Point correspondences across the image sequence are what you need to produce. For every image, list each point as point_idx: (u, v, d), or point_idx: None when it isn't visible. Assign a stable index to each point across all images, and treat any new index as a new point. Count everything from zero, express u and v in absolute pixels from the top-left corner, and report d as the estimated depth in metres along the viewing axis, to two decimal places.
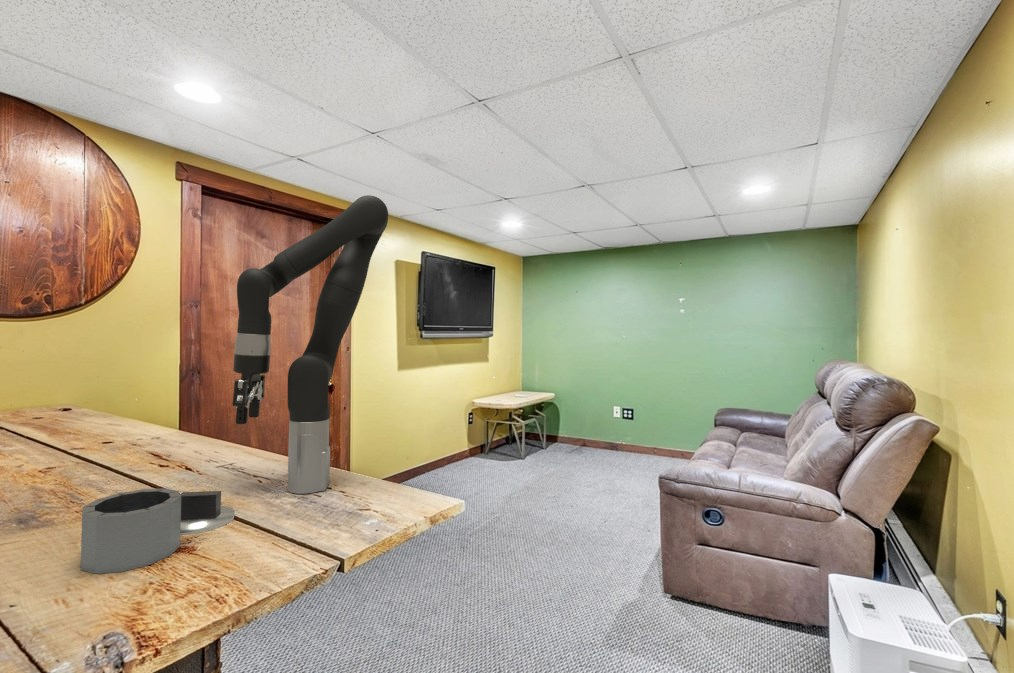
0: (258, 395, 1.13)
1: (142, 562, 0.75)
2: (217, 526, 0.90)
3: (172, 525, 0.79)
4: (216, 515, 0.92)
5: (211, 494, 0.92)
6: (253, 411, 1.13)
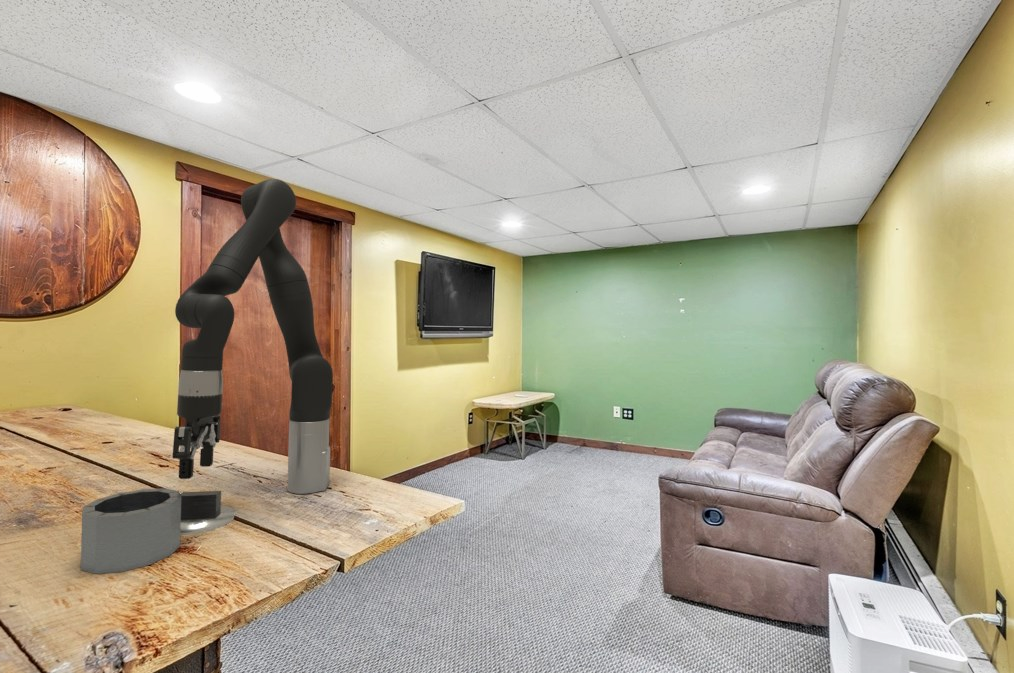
0: (210, 440, 0.96)
1: (142, 562, 0.75)
2: (217, 526, 0.90)
3: (172, 525, 0.79)
4: (216, 515, 0.92)
5: (211, 494, 0.92)
6: (205, 459, 0.96)
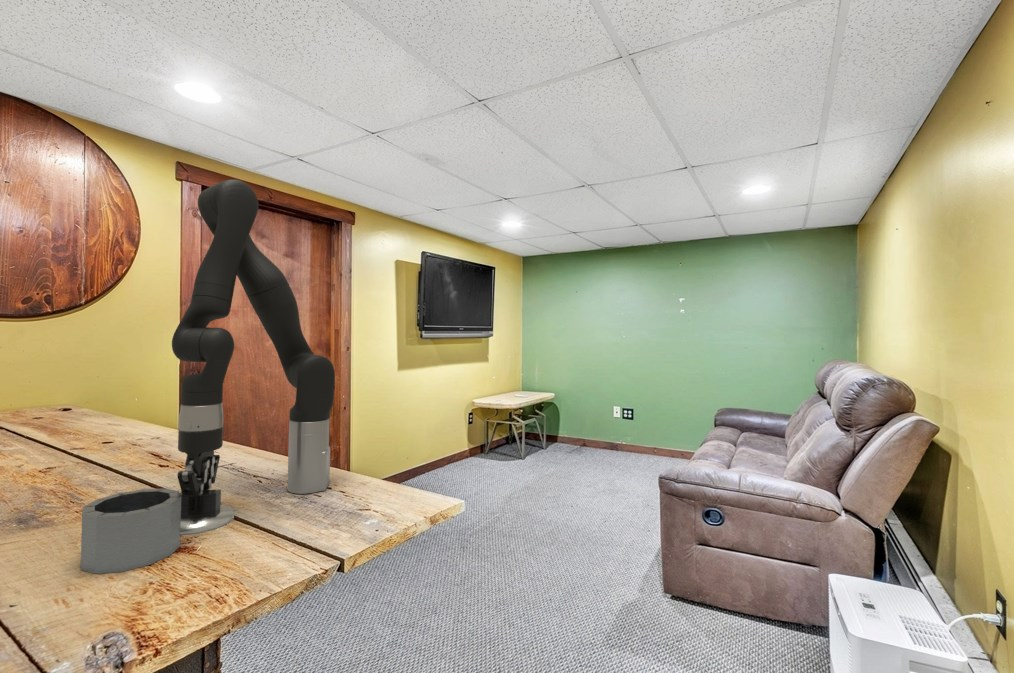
0: (207, 478, 0.94)
1: (142, 562, 0.75)
2: (217, 525, 0.90)
3: (172, 525, 0.79)
4: (216, 514, 0.92)
5: (211, 493, 0.92)
6: None
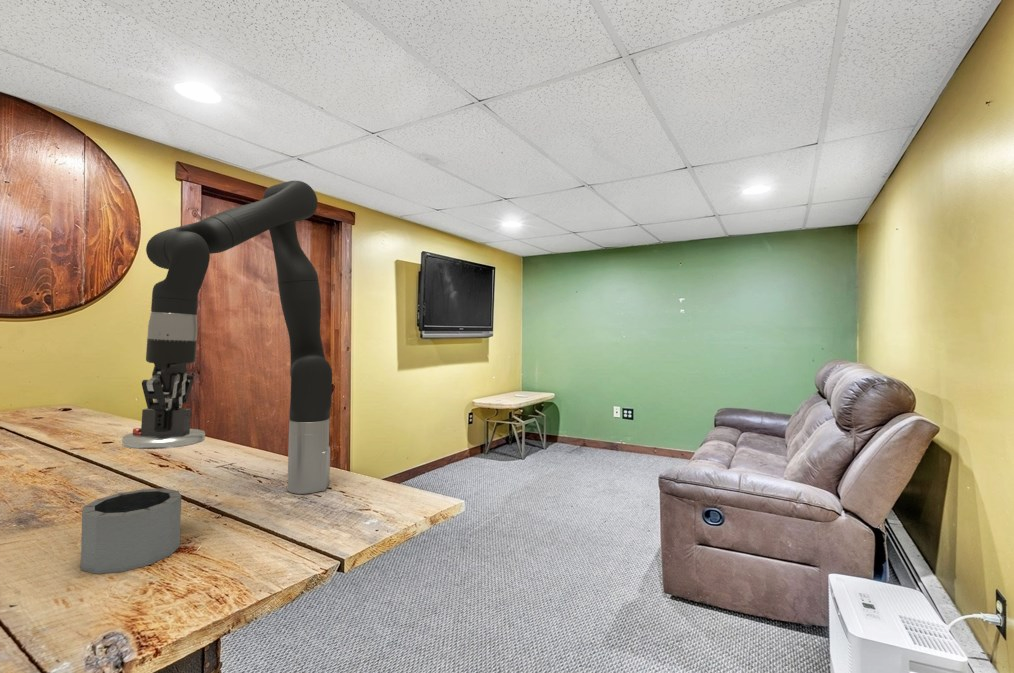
0: (178, 395, 0.87)
1: (142, 562, 0.75)
2: (183, 442, 0.83)
3: (172, 525, 0.79)
4: (184, 433, 0.85)
5: (179, 410, 0.85)
6: None
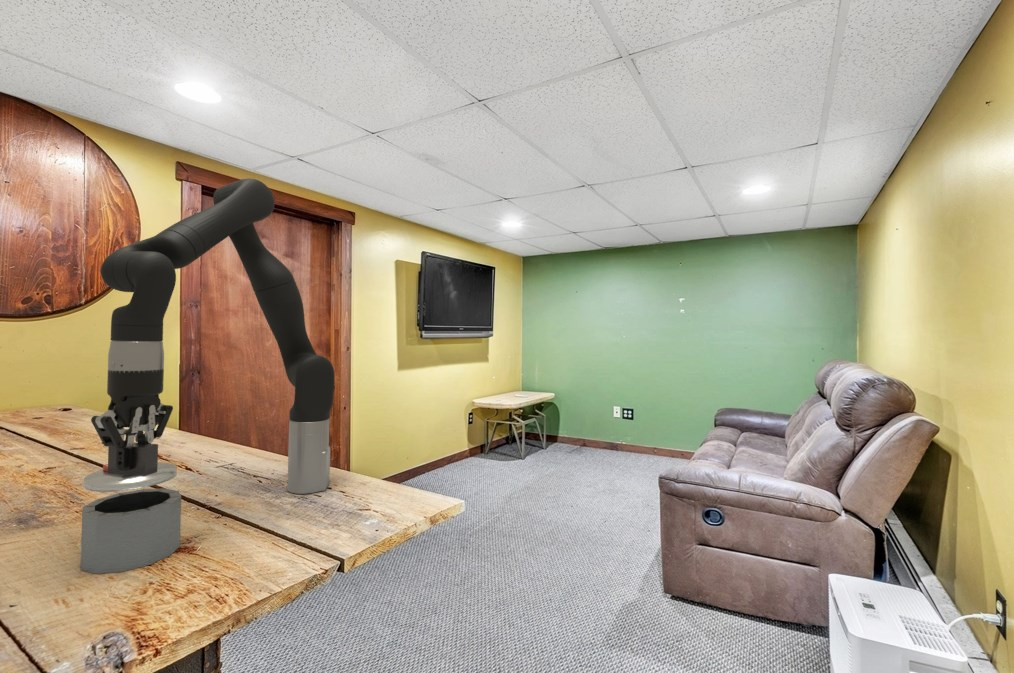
0: (146, 430, 0.80)
1: (142, 562, 0.75)
2: (137, 484, 0.74)
3: (172, 525, 0.79)
4: (147, 472, 0.78)
5: (142, 446, 0.78)
6: None
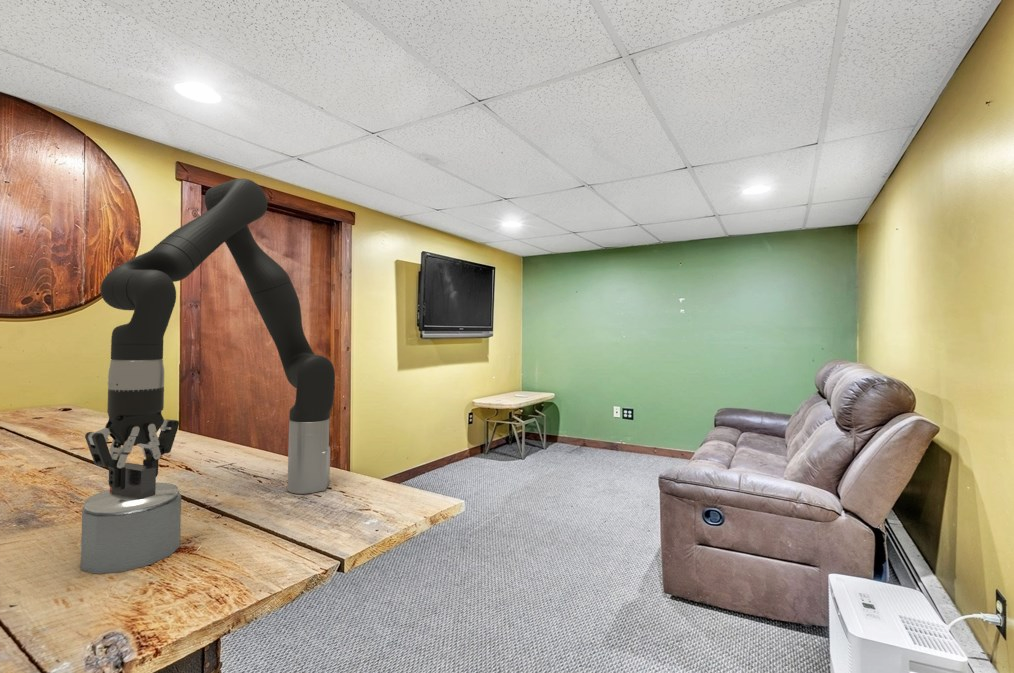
0: (150, 447, 0.80)
1: (142, 562, 0.75)
2: (128, 509, 0.74)
3: (172, 525, 0.79)
4: (142, 495, 0.77)
5: (139, 469, 0.77)
6: None
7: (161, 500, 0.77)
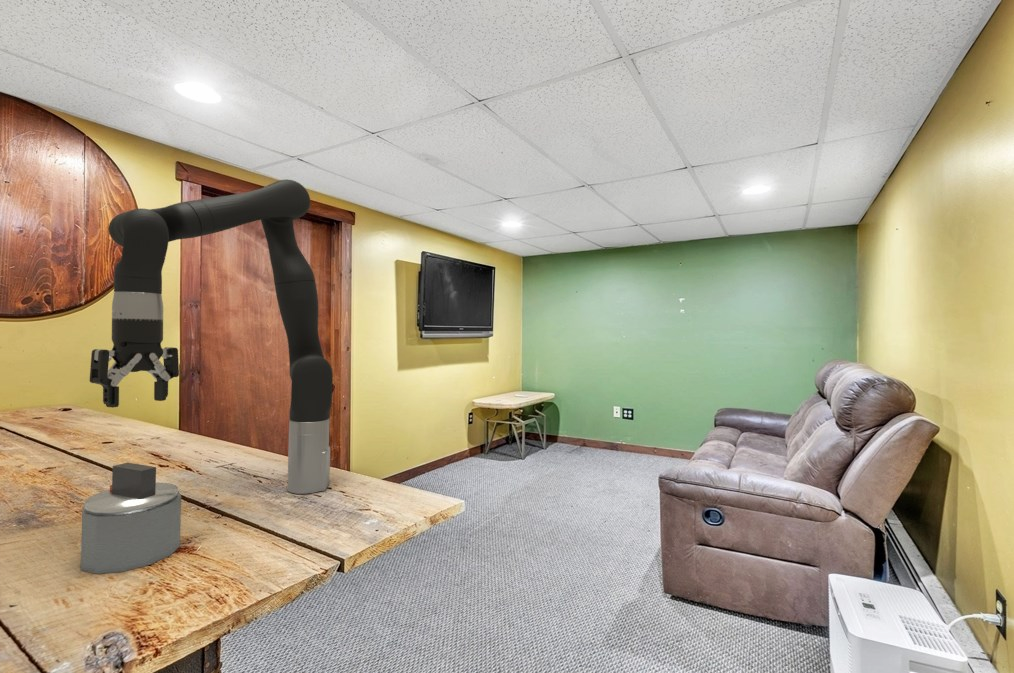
0: (158, 372, 0.88)
1: (142, 562, 0.75)
2: (128, 509, 0.74)
3: (172, 525, 0.79)
4: (142, 495, 0.77)
5: (139, 469, 0.77)
6: (158, 393, 0.90)
7: (161, 500, 0.77)
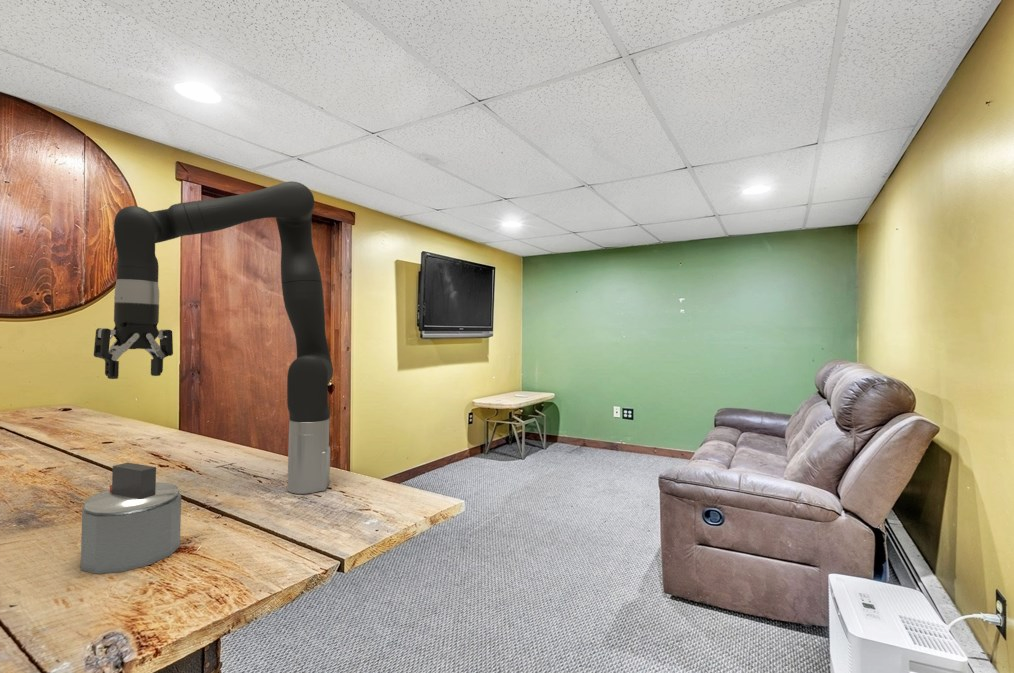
0: (154, 351, 1.01)
1: (142, 562, 0.75)
2: (128, 509, 0.74)
3: (172, 525, 0.79)
4: (142, 495, 0.77)
5: (139, 469, 0.77)
6: (154, 369, 1.02)
7: (161, 500, 0.77)
